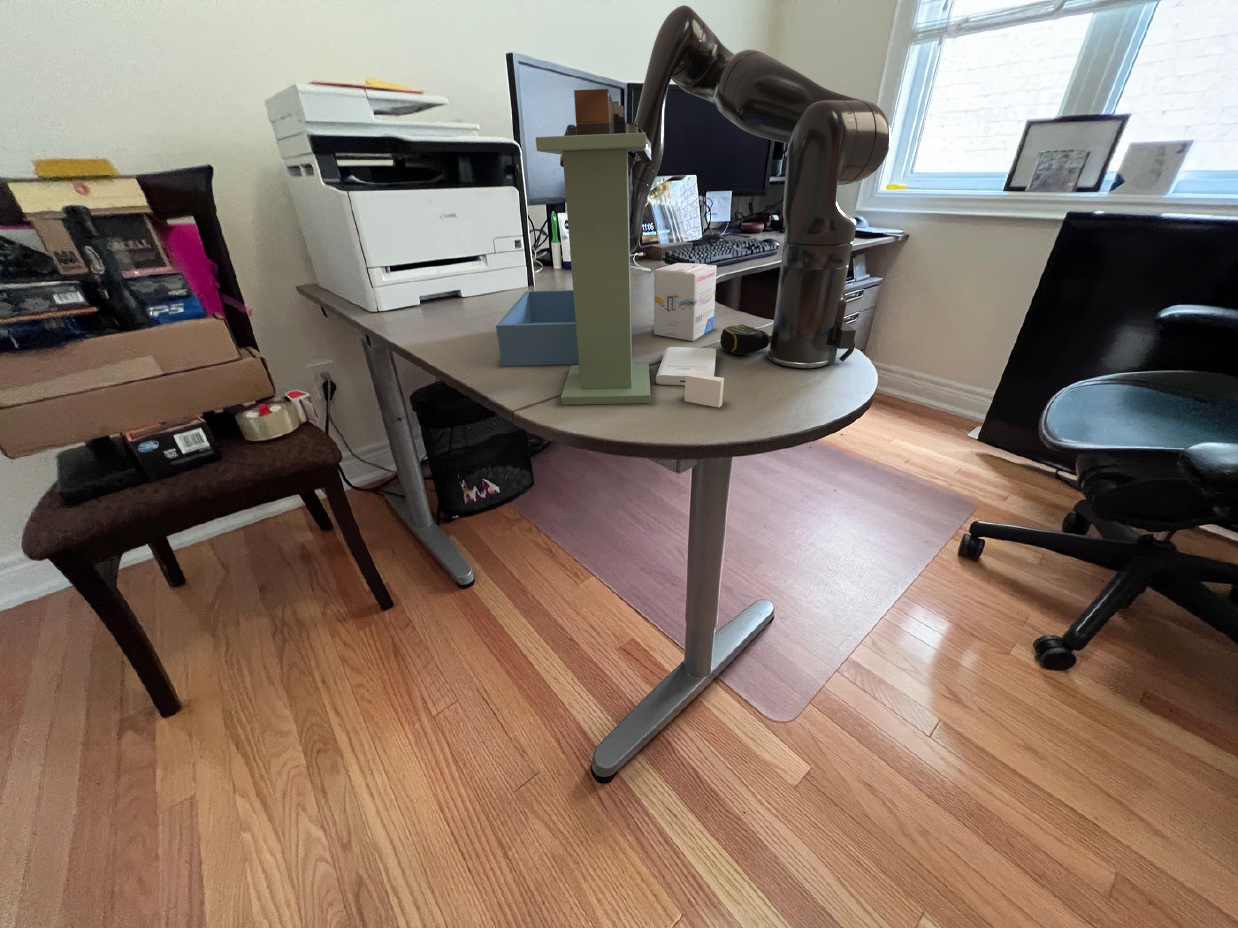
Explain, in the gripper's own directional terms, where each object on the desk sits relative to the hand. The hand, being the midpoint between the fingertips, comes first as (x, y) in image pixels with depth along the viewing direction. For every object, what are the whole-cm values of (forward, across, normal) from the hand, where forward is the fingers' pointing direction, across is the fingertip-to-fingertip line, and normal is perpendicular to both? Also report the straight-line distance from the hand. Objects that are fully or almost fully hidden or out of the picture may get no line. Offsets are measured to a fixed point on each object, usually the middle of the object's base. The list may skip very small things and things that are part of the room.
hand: (600, 109), depth 62 cm
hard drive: (-14, +12, +31) cm, 36 cm away
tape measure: (-22, +22, +26) cm, 41 cm away
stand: (-8, 0, +34) cm, 35 cm away
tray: (-28, -11, +23) cm, 37 cm away
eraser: (-3, +13, +37) cm, 39 cm away
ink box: (-31, +13, +21) cm, 40 cm away
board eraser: (+1, 0, +5) cm, 5 cm away
